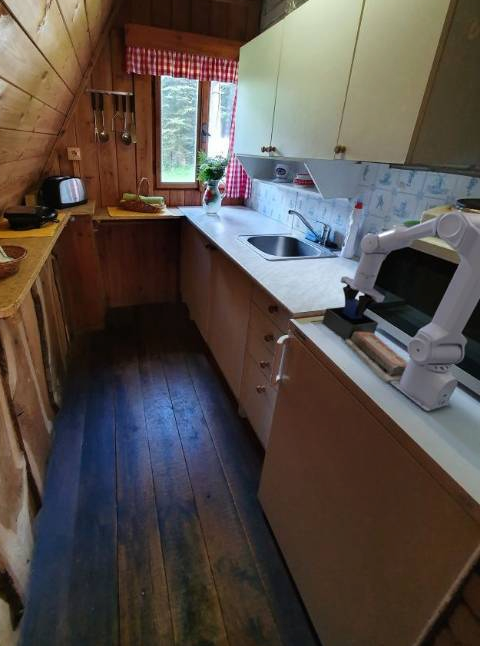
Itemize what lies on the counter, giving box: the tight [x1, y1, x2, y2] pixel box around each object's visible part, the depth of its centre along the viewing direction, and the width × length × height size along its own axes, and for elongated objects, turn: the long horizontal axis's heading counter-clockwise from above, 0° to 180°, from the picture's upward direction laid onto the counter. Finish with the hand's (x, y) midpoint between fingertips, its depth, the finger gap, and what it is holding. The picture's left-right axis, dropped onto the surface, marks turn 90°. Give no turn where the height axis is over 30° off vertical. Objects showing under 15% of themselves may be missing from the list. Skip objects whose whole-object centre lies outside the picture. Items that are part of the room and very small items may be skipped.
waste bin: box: [322, 306, 379, 341], centre depth 100 cm, size 11×11×6 cm
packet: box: [343, 298, 362, 319], centre depth 98 cm, size 4×4×5 cm
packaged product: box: [344, 332, 408, 384], centre depth 86 cm, size 18×5×10 cm
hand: (353, 311), depth 98 cm, fingers closed on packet, 4 cm apart
